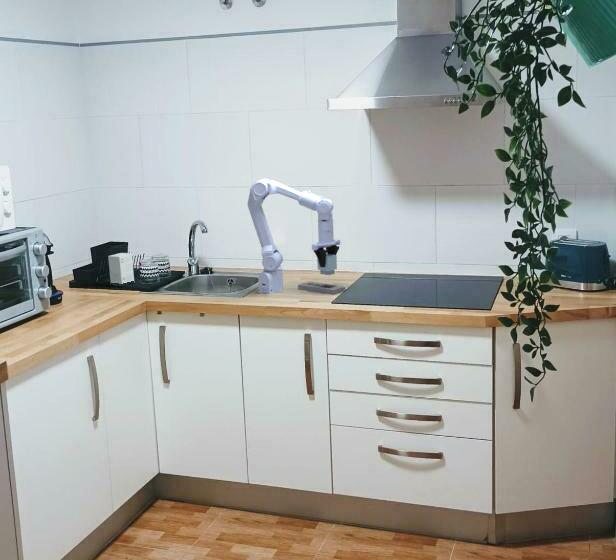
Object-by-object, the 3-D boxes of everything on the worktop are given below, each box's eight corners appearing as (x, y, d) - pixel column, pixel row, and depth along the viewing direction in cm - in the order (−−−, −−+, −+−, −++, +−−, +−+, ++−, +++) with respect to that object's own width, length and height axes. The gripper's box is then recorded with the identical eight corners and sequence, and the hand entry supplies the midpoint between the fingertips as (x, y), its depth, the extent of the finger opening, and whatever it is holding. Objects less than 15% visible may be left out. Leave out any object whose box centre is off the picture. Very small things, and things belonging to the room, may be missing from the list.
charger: (329, 275, 307) (328, 254, 305) (317, 274, 311) (317, 253, 309) (337, 273, 310) (336, 253, 309) (325, 272, 314) (325, 251, 312)
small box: (123, 282, 346) (120, 252, 343) (134, 283, 343) (132, 253, 340) (110, 286, 339) (107, 255, 336) (122, 287, 336) (119, 256, 333)
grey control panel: (333, 296, 304) (333, 289, 304) (298, 290, 316) (298, 284, 316) (345, 293, 309) (345, 285, 309) (310, 287, 321) (309, 280, 321)
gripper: (321, 234, 299) (322, 270, 302) (346, 229, 310) (346, 263, 313) (307, 232, 304) (308, 268, 307) (332, 227, 314) (333, 262, 317)
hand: (326, 265), depth 310 cm, fingers closed on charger, 5 cm apart
